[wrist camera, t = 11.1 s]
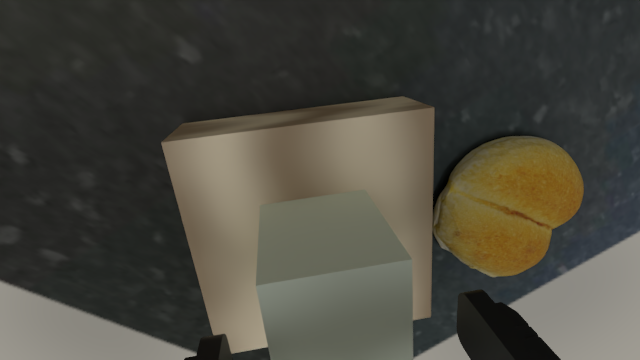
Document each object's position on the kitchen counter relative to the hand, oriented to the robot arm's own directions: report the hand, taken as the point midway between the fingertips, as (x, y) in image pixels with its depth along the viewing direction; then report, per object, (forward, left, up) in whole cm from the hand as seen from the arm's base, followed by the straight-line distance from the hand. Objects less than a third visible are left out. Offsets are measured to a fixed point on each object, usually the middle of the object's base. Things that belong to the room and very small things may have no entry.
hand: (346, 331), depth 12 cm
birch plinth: (0, 0, -10) cm, 10 cm away
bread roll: (-12, +2, -10) cm, 16 cm away
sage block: (0, 0, -6) cm, 6 cm away
